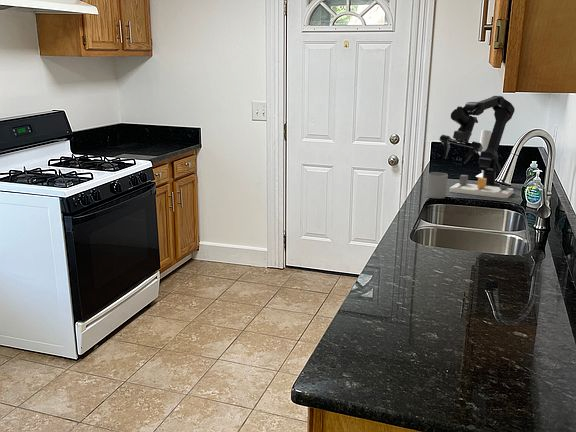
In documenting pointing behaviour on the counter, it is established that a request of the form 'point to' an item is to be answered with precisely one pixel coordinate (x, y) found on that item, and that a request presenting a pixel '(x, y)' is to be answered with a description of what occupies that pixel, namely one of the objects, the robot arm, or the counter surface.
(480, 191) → the breaker panel
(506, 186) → the switch
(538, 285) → the counter surface
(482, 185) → the orange matte cube
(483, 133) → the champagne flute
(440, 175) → the cup
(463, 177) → the switch
